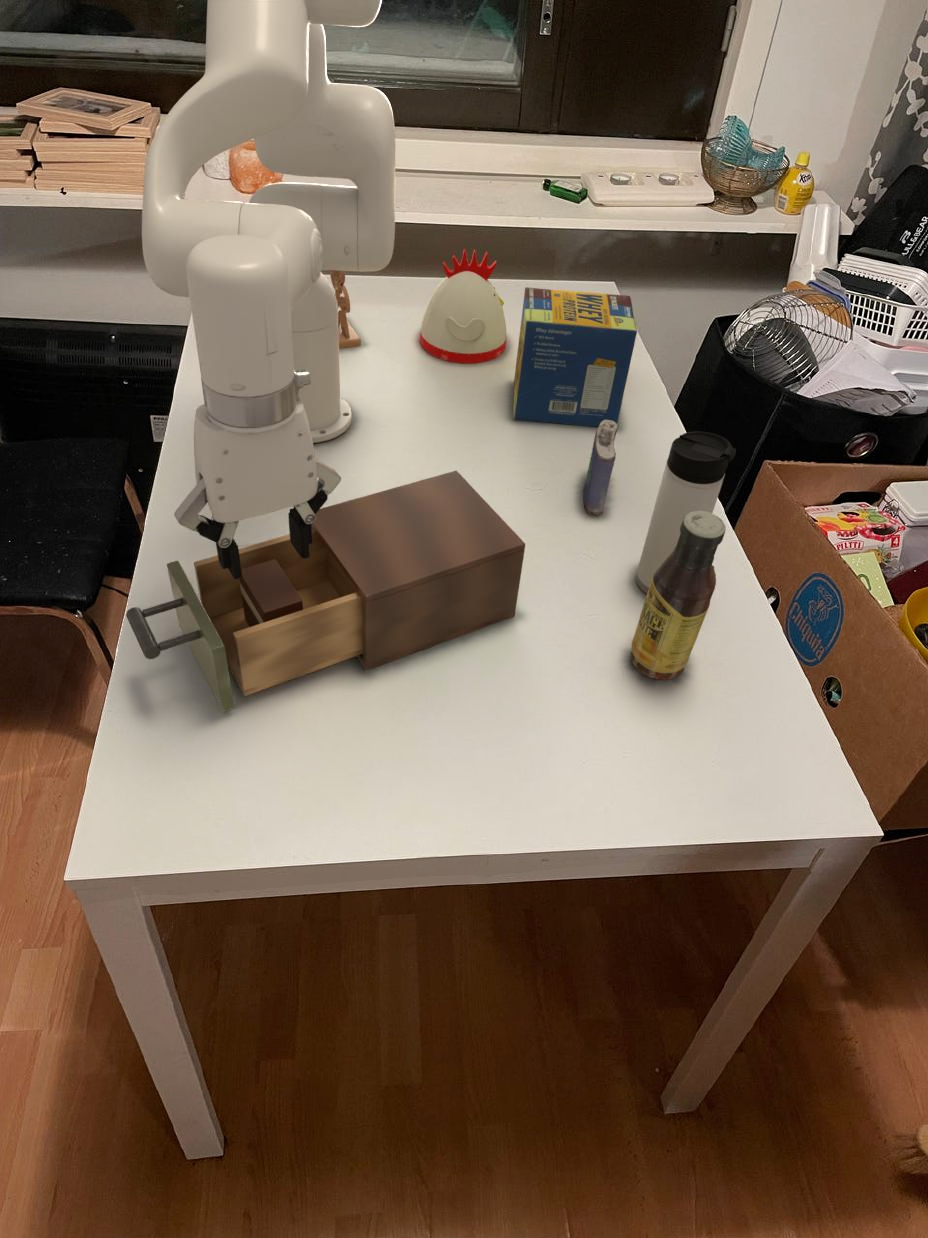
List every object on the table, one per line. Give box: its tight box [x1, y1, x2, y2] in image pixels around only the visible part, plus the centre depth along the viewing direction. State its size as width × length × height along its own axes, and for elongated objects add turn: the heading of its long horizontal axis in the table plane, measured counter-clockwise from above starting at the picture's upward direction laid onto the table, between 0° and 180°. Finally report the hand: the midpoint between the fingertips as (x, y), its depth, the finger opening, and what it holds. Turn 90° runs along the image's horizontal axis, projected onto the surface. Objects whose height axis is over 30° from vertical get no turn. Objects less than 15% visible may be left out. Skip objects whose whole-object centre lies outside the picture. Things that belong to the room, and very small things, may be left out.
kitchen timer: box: [419, 248, 507, 364], centre depth 144 cm, size 14×14×15 cm
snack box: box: [240, 559, 303, 627], centre depth 94 cm, size 4×7×7 cm, turn 31°
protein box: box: [512, 287, 638, 428], centre depth 132 cm, size 10×15×16 cm
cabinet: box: [311, 470, 526, 671], centre depth 101 cm, size 19×15×11 cm
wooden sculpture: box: [329, 270, 362, 349], centre depth 144 cm, size 9×4×12 cm, turn 25°
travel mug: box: [635, 431, 737, 595], centre depth 103 cm, size 6×7×20 cm
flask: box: [582, 420, 619, 516], centre depth 118 cm, size 9×3×11 cm, turn 172°
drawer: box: [125, 528, 363, 712], centre depth 93 cm, size 23×13×9 cm, turn 121°
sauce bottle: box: [630, 511, 726, 681], centre depth 93 cm, size 6×6×20 cm
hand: (266, 558), depth 89 cm, fingers open, 6 cm apart
